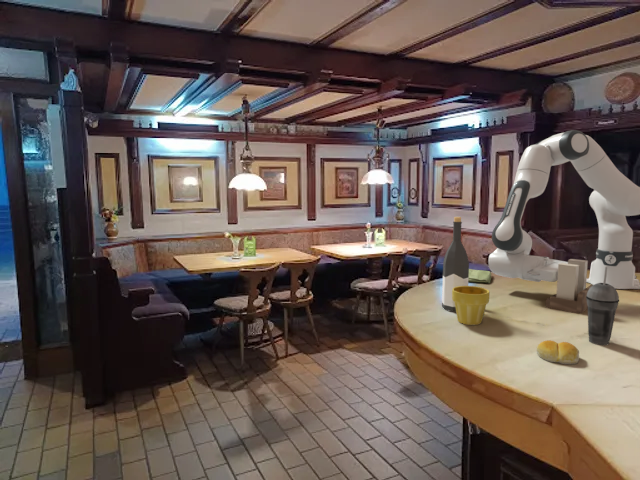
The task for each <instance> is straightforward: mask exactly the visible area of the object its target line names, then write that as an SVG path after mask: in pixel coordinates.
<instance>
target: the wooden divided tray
mask: <svg viewBox="0 0 640 480" xmlns="http://www.w3.org/2000/svg"><path fill="white" fill-rule="evenodd" d="M592 286H593V284H590V285H589V286H588V287H587V286H586V289H584V290H583V291H581V292H580V293H577V300H576V301H574V300H568V299H562V298H556V294H557V293H554V294H553V295H552V296H550V297H547V298H546V299H545V308H546V309H553V310H557V311H558V310H559V311H565V312H569V313H574V314H580V315H581V314H583V313H584V312H585V311H586V310H588V305H587V298H586V296H587V292H588V290H589V289H590V287H592Z"/></svg>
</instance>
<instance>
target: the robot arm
mask: <svg viewBox="0 0 640 480" xmlns="http://www.w3.org/2000/svg"><path fill="white" fill-rule="evenodd" d="M568 162H570V163H571V164H572V166H573V167H574V169H575V170H576V172H577V173H578V175H579V176H580V177H581V179H582V180H583V182H584V183H585V184H586V185H587V186H588V188H591V190H592V189H593V191H592V192H591V193H590V196H589V197H588V201H589V202H588V203H589V205H590V207H591V209H592V210H593V211H594V213H595V216H596V219H597V224H598V225H597V226H598V245H597V247H598V248H596V252H595V255H596V256H595V258H596V259H594V260H592V261H591V264H590V270H589V277H588V278H586V283H589V284H590V285H595V284H597V283H603V281H604V273H605V267H607V276H606V283H607V284H609V285H611V286H613V287H614V288H615V289H618V290H619V289H620V290H628V289H629V290H630V289H633V290H640V280H639V279H637V278H638V276H637V275H635V274H636V266H635V265H634V263H633V262H632V260H633V256H634V255H633V251H632V247H633V237H634V231H633V229H632V228H631V227H630V225H629V224H628V221H627V217H630V216H631V217H632V216H639V215H640V186H638V185H637V184H635V183H634V182H633V181H632V180H631V179H629V178H628V177H627V176H625V174H623V172H621V171H620V170H619V169H618V168H617V167H616V165H615V164H614V163H613V162H612V160H611V159H610V157H609V156H608V155H607V153H606V152H605V151H604V149H603V148H602V146H600V144H598V143H597V142H596V141H595V139H593V138H592V137H591V136H589V135H587V134H586V133H583V132H582V131H581V130H576V129H575V130H574V129H571V130H567V131H565V132H561V133H557V134H553V135H551V136H549V137H548V138H545V139H542V140H539V141H538V142H537V143H535V144H531V145H530V146H529V145H528V146H527V147H526V148H525V149H524V151H523V153H522V155H521V158H520V161H519V162H518V166H517V168H516V173H515V177H514V181H513V185H512V186H511V188H510V190H509V194H508V197H507V199H506V203H505V205H504V209H503V212H502V214H501V217H500V219H499V221H498V222H497V224H496V225H495V227H493V230H492V233H491V241H492V243H493V245H494V246H495V247H496V249H494V251H493V252H491V253H489V255H488V259H487V264H488V268H489V271H490V272H491V273H493V274H494V275H495V276H496V275H497V276H501V277H503V278H510V279H517V278H518V279H521V280H525V281H531V282H538V283H539V282H541V281H542V282H543V281H544V282H549V283H550V282H551V283H554V282H556V281H557V279H558V264H560V263H566V264H568V261H564V260H558V259H552V258H550V257H548V256H540V255H531V254H530V253H531V251H532V247H533V238H532V237H531V235H530V234H529V233H528V232H527V231H525V230H524V229H523V227H522V225H521V224H522V223H521V221H522V218H523V215H524V212H525V209H526V205H527V203H528V201H529V200H530V199H534V198H537V197H539V196H541V195H542V194H543V193H544V192H545V191H546V187H547V185H548V182H549V178H550V172H551V167H552V166H558V165H563V164H565V163H568Z"/></svg>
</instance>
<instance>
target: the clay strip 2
mask: <svg viewBox="0 0 640 480" xmlns="http://www.w3.org/2000/svg"><path fill="white" fill-rule="evenodd" d="M567 262H568V264H574V265H579V273H578V286H577V293H580V292H581V291H583V290H584V289H586V288H587V282H586V279H587V275H588V263H589V261H588V260H584V259H577V258H576V259H575V258H570V259H568V260H567Z"/></svg>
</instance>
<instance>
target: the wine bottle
mask: <svg viewBox="0 0 640 480" xmlns="http://www.w3.org/2000/svg"><path fill="white" fill-rule="evenodd" d="M462 223H463V222H462V217H461V216H454V217H453V222H452V224H453V226H452V227H453V230H452V231H453V232H452V241H451V243H450V245H449V246H448V248H447V250H446V252H445V254H444V258H443V262H442V290H441V291H442V292H441V293H442V294H441V307H442V309H443V308H444V309H445V311H448V310H450V311H449V312H456V307H455V302H454V301H453V300H452V289H453V288H454V287H458V286H469V282H468V278H469V269H470V261H469V256H468V254H467V251H466V248H465V246H464V245H463V241H462ZM444 309H443V310H444Z"/></svg>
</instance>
